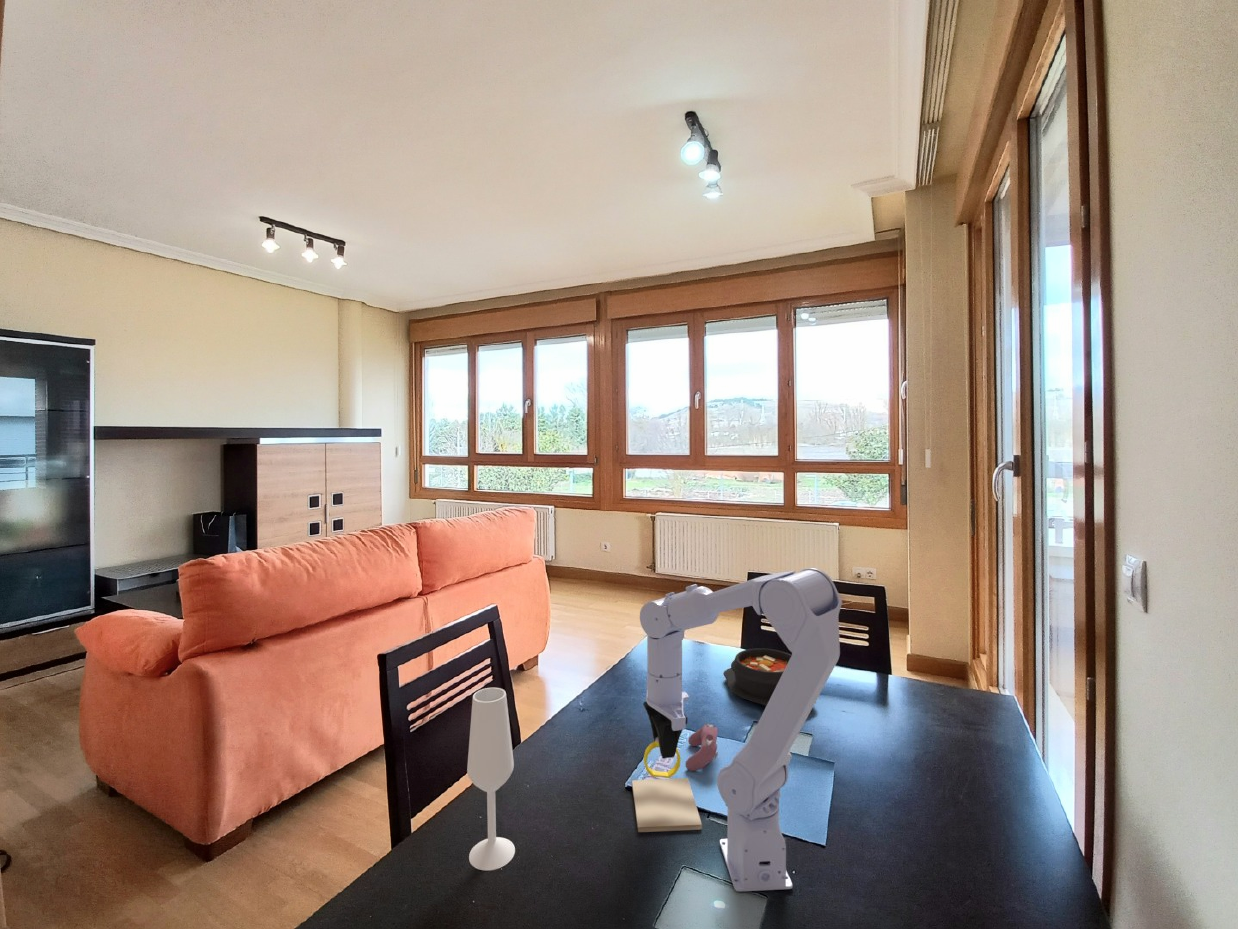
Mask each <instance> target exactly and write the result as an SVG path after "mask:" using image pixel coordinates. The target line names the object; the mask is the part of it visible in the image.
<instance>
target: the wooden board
mask: <svg viewBox="0 0 1238 929" xmlns="http://www.w3.org/2000/svg"><path fill="white" fill-rule="evenodd" d="M631 786H632V794H633V795H632V796H633V804H634V808H635V817H636V818H635V819H636V826H637V833H650V832H651V833H652V832H655V833H656V832H674V831H696V830H698V831H699V830H702V829H703V825H702V820H701V816H700V813H699V811H698V807H697V806H698V805H697V803H696V800H695V797H694V794H693V791H692V786H691V783H690V780H689V777H680V778H678V777H677V778H658V779H657V778H656V779H655V778H653V779H634V780H633V779H632V780H631Z"/></svg>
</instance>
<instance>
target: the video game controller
mask: <svg viewBox="0 0 1238 929" xmlns="http://www.w3.org/2000/svg"><path fill="white" fill-rule="evenodd" d="M718 731H719V728H718V727H717V726H715V725H713V724H709V723H707V724H704V725H703V726H702V727H701V728H699V729H698V730H697V731H695V732H693V733H692V734H691V735H690V736H689V737H688V745H689V746H691V747H699V746H701V747H700V748H699V750H698V751H697V752H695V753H694V754H693V755H691V756H689V757H688V758H687V760H686V761H685V768H686V770H688V771H693V772H694V771H698V770H701V769H703V768H704V767H705V766H707V765H708V764H710V763H711V762H712V761H713V759H717V758H718V756H719V753H718V751H717V750H718V744H717V739H718Z"/></svg>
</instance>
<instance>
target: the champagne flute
mask: <svg viewBox="0 0 1238 929" xmlns="http://www.w3.org/2000/svg"><path fill="white" fill-rule="evenodd" d="M471 704H472V705H471V715H470V718H471V719H470V726H469V727H470V729H469V742H468V755H467V765H466V766H467V770H466V772H467V773H466V774H467V776H468V778H469V780H470V781H471V783H472V784H473V785H474V786H475V787H476V788H478V789H480V790H481V791H483V792H484V793H486V803H487V804H486V806H487V808H486V809H487V811H486V812H487V813H486V814H487V838H485V839H483V840H481V841H479V842H477V844H475V845H473V847H472V848H471V850H470V852H469V854H468V855H469V856H468V860H469V863H470V865H471V866H472V867H473V868H475V869H477V870H481V871H495V870H498V869H500V868H502V867H504V866H506V865H507V864H508V863H509V862H511V861H512V859H513V858H514V856H515V854H516V848H515V845H514V843H513V842H512V841H511V840H510V839H507V838H505V837H500V836H497V831H496V830H497V821H496V820H497V819H496V817H497V816H496V812H497V811H496V791H498V790H499V789H500V788H501V787H503V785H504V784H505V783H506V782H508V780H509V778H510V777H511V775H512V774H513V771H514V766H515V762H514V755H513V754H514V752H513V744H512V734H511V726H510V717H509V707H508V699H507V693H506V690H505V689H503V688H501V687H487V688H486V687H485V688H482V689H479V690H477V691H476V692H475V693H474V694H473V695H472V700H471Z"/></svg>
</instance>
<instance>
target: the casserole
mask: <svg viewBox="0 0 1238 929" xmlns="http://www.w3.org/2000/svg"><path fill="white" fill-rule="evenodd" d="M791 656H792V654H790V653H788V652H784V651H782V650H777V649H773V648H759V647H758V648H750V649H749V648H748V649H745V650H744V649H743V650H742V651H740V652H738V653H737V654H736V655H735V657H734V659H733V661H732V662H731V664H730V668H727V669H725V671H723V676H724V678H725V679H726V682H727V687H728V688H729V690H730V691H731V692H732V693H733V694H735V695H736V696H738V697H740V698H742V699H743V700H747V701H749V702H752V703H754V704H759V705H762V706H764V707H766V706H767V704H768V702H769V700H770V698H771V696H772V694H773V692H774V690H775V688H776V686H777V684H778V682H779V680H780V678H781V676H782V674H783V672H784V670H785V668H786V666H787V664H788V662H789V660H790V658H791ZM816 702H817V701H816ZM816 702H815V704H816Z"/></svg>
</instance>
